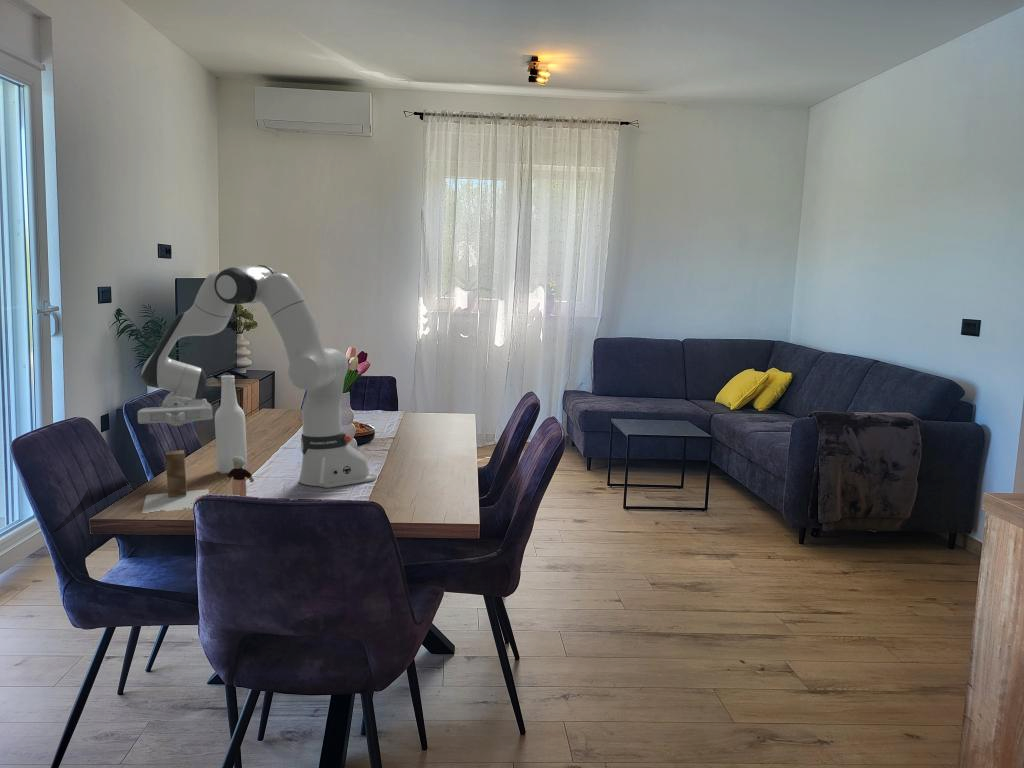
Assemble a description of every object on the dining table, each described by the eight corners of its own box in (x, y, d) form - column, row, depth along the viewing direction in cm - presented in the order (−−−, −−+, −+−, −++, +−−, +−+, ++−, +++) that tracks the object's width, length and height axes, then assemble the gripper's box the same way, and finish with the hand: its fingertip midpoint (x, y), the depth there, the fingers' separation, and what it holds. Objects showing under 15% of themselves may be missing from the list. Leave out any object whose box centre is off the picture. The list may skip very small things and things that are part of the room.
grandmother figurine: (224, 503, 206) (221, 457, 205) (228, 499, 210) (225, 454, 208) (253, 503, 207) (251, 457, 205) (256, 499, 211) (254, 453, 209)
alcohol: (216, 475, 235) (210, 378, 231) (219, 468, 244) (213, 374, 239) (246, 473, 238) (241, 377, 233) (248, 466, 246) (243, 373, 242)
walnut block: (186, 491, 216) (184, 450, 214) (186, 496, 212) (183, 453, 210) (169, 493, 214) (166, 451, 212) (168, 497, 210) (165, 455, 208)
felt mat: (208, 490, 219) (208, 489, 219) (208, 508, 202) (208, 506, 202) (146, 496, 213) (146, 495, 213) (141, 515, 196) (141, 513, 196)
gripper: (137, 402, 229) (133, 410, 216) (211, 398, 236) (212, 405, 224) (139, 423, 230) (135, 432, 217) (212, 418, 237) (213, 426, 224)
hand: (174, 418), depth 220 cm, fingers closed
